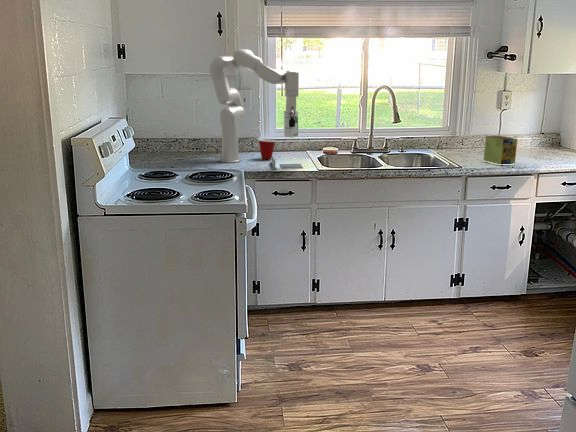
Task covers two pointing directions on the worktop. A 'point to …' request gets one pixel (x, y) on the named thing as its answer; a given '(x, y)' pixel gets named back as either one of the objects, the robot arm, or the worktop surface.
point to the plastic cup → (266, 148)
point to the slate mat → (291, 166)
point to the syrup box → (290, 130)
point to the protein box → (500, 149)
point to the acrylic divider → (273, 163)
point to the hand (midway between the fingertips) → (291, 125)
